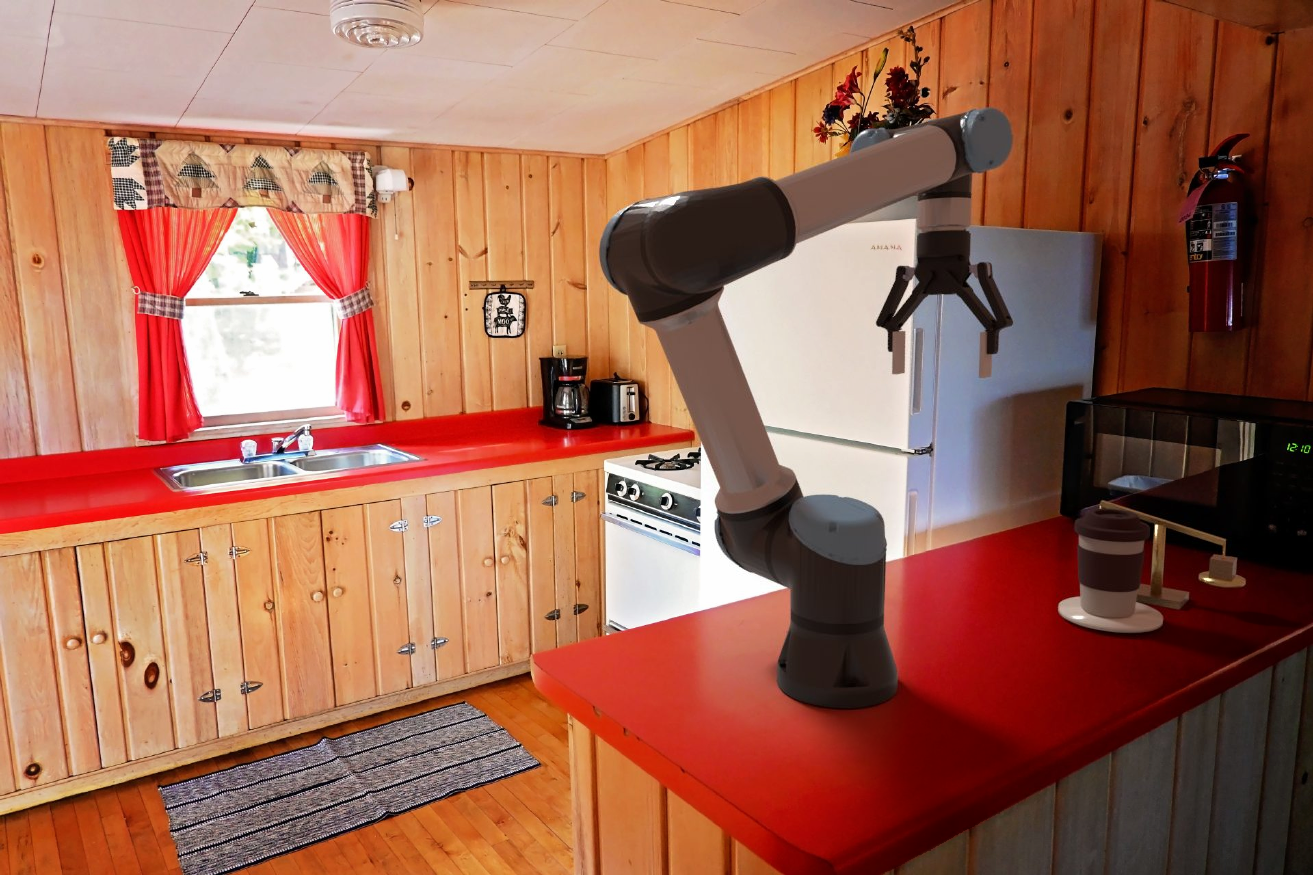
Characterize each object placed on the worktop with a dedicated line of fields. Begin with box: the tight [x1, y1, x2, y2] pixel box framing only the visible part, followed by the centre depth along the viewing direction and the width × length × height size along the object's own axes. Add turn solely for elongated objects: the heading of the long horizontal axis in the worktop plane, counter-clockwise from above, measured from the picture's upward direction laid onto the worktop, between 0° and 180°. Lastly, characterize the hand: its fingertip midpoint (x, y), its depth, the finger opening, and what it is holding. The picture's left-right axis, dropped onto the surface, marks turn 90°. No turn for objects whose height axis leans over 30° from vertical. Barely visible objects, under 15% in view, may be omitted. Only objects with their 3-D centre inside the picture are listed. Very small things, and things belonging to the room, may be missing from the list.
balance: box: [1099, 499, 1247, 611], centre depth 143 cm, size 6×24×15 cm, turn 48°
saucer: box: [1057, 596, 1164, 634], centre depth 136 cm, size 14×14×1 cm
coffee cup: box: [1074, 507, 1151, 618], centre depth 135 cm, size 10×10×15 cm
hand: (940, 375), depth 136 cm, fingers open, 13 cm apart
